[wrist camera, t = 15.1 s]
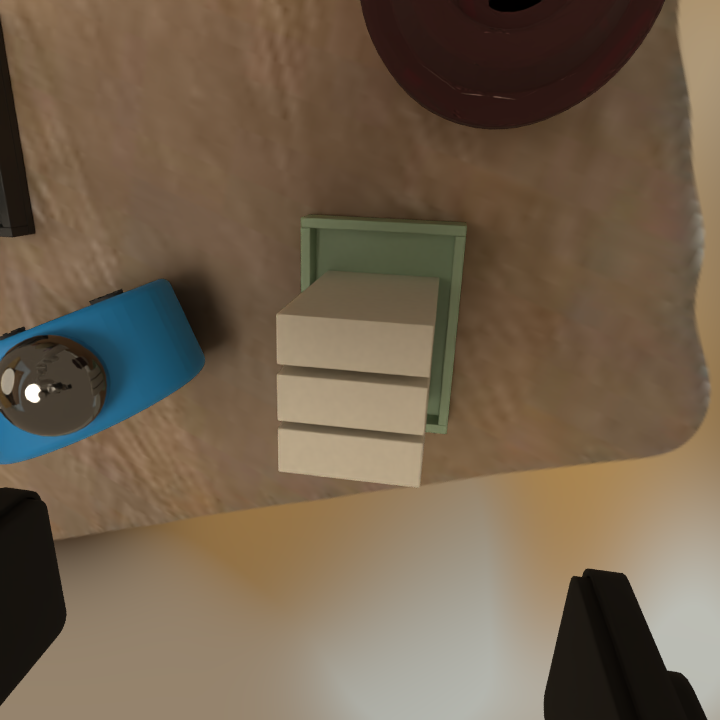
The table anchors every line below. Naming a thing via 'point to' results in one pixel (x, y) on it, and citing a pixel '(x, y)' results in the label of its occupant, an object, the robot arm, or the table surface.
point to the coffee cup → (505, 53)
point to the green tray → (397, 257)
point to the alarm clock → (92, 369)
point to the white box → (361, 324)
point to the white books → (352, 424)
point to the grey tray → (11, 164)
